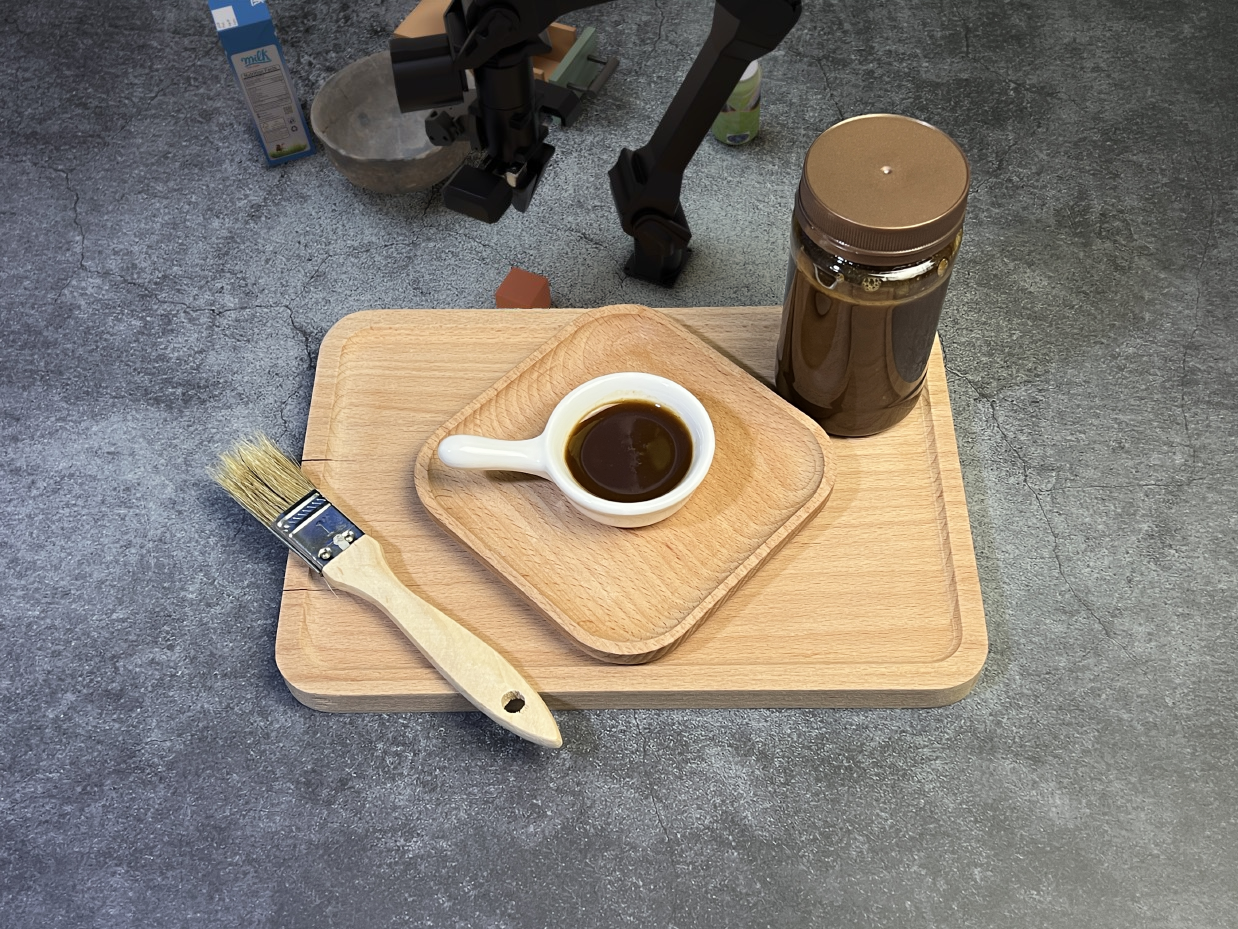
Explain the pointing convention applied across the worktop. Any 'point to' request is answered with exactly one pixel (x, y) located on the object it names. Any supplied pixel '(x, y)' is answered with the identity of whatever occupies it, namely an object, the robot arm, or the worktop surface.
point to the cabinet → (424, 20)
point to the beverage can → (741, 109)
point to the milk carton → (263, 78)
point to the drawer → (574, 62)
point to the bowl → (379, 131)
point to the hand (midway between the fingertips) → (521, 209)
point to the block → (523, 291)
